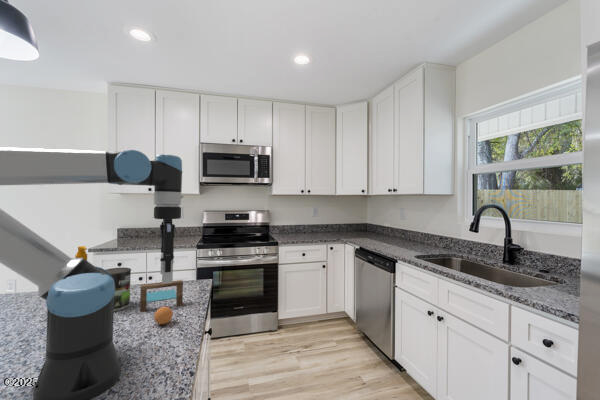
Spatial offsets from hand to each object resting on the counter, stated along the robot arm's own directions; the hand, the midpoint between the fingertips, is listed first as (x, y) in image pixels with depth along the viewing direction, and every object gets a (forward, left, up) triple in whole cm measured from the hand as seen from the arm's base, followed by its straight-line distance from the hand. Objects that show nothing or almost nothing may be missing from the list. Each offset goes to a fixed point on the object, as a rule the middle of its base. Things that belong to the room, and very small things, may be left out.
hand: (166, 277), depth 82 cm
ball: (+8, +5, -15) cm, 18 cm away
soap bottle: (+17, +41, -18) cm, 48 cm away
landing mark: (+34, +20, -18) cm, 43 cm away
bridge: (+22, +13, -18) cm, 31 cm away
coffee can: (+21, +31, -18) cm, 41 cm away
